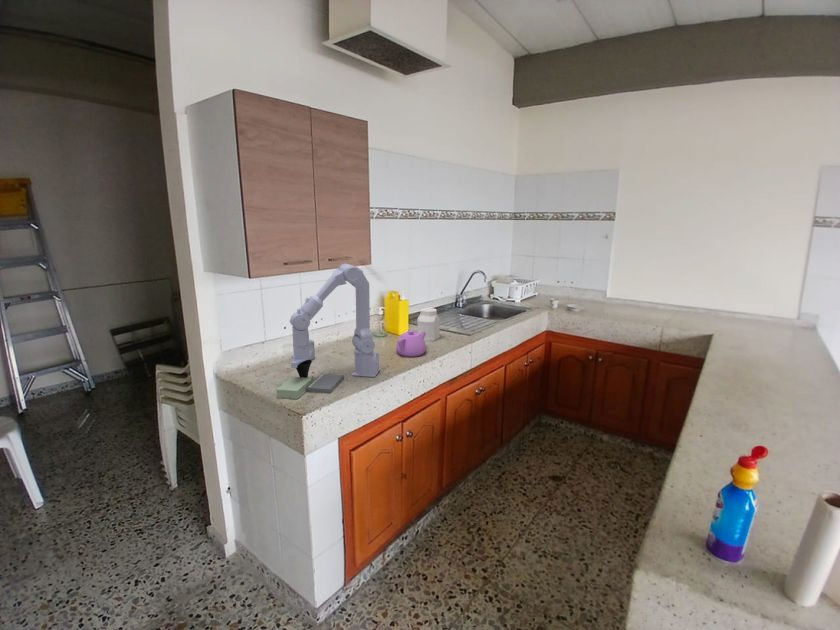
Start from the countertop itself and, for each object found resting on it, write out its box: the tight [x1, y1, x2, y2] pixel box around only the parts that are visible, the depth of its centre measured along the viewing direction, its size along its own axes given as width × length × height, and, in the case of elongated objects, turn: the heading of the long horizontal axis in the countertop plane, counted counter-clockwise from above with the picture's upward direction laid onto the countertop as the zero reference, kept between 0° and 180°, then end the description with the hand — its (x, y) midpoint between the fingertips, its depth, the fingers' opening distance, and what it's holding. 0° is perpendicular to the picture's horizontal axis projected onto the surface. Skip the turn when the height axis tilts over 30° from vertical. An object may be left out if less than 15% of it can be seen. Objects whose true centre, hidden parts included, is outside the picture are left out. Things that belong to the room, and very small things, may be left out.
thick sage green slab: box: [276, 376, 313, 400], centre depth 150 cm, size 8×12×3 cm, turn 170°
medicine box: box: [293, 339, 316, 361], centre depth 182 cm, size 8×4×9 cm, turn 141°
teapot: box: [395, 329, 427, 358], centre depth 193 cm, size 14×20×11 cm
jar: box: [416, 307, 441, 342], centre depth 214 cm, size 12×10×15 cm
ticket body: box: [306, 373, 345, 394], centre depth 156 cm, size 9×14×2 cm, turn 170°
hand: (303, 379), depth 157 cm, fingers closed
